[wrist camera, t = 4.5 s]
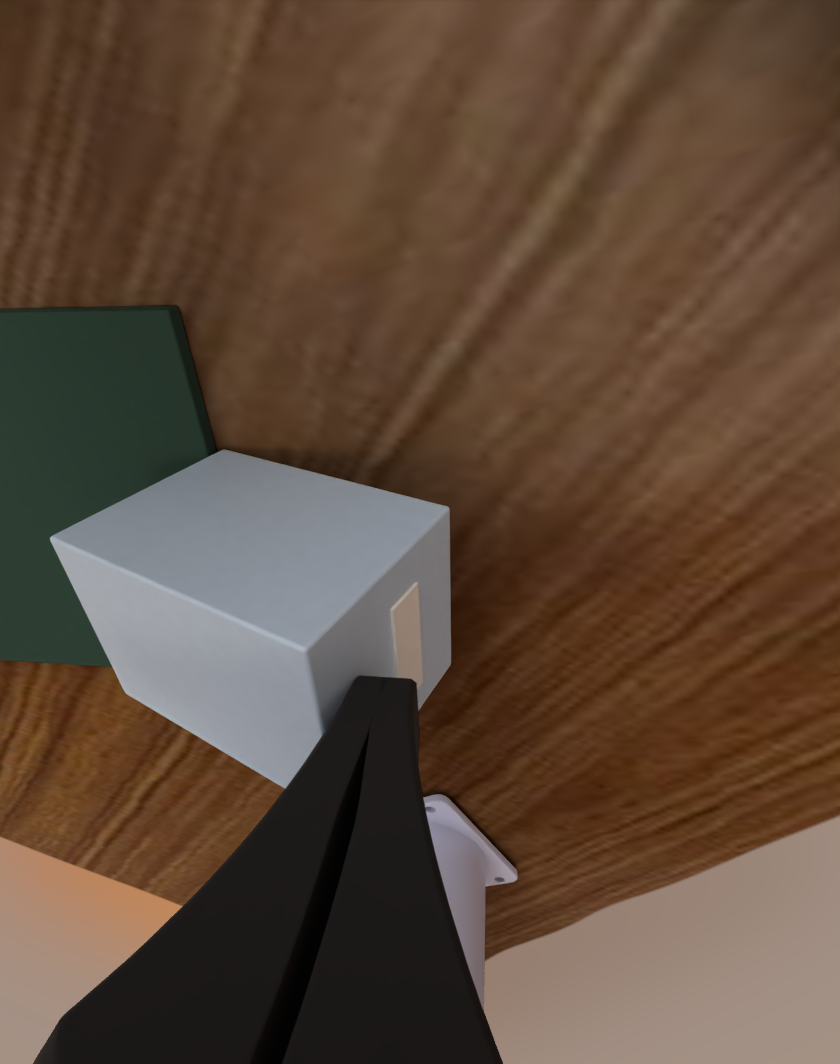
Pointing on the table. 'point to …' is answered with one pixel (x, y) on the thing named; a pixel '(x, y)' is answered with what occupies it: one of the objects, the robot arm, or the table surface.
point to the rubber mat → (82, 451)
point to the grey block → (263, 599)
